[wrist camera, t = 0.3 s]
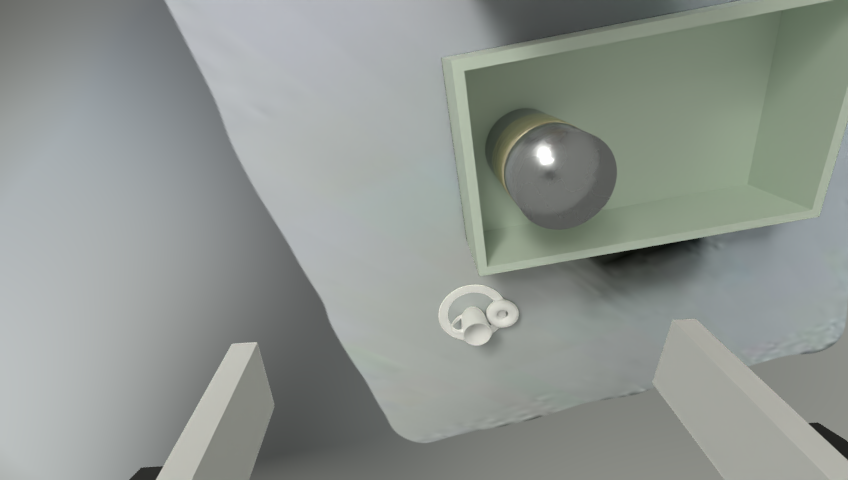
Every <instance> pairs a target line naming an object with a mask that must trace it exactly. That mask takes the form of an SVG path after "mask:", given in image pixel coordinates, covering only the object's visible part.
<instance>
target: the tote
mask: <svg viewBox="0 0 848 480" xmlns="http://www.w3.org/2000/svg"><path fill="white" fill-rule="evenodd" d="M441 61H442V68H443V75H444V82H445V89H446V96H447V103H448V111H449V118H450V125H451V132H452V139H453V146H454V154H455V161H456V168H457V175H458V182H459V189H460V196H461V204H462V211H463V218H464V225H465V232H466V239H467V242H468V245H469V248H470V251H471V254H472V257H473V260H474V263H475V265H476V268H477V271H478V274H479V276H485V275H490V274H496V273H502V272H507V271H513V270H519V269H524V268H530V267H536V266H541V265H547V264H553V263H559V262H564V261H570V260H576V259H581V258H587V257H593V256H598V255H604V254H610V253H615V252H621V251H627V250H632V249H638V248H644V247H650V246H655V245H661V244H667V243H672V242H678V241H684V240H689V239H695V238H701V237H706V236H712V235H718V234H723V233H729V232H735V231H741V230H746V229H752V228H758V227H763V226H769V225H775V224H780V223H786V222H792V221H797V220H803V219H809V218H814V217H819V215H820V212H821V208H822V205H823V202H824V198H825V195H826V192H827V188H828V185H829V182H830V178H831V175H832V172H833V168H834V165H835V162H836V158H837V155H838V152H839V148H840V145H841V141H842V138H843V135H844V131H845V128H846V125H847V121H848V0H740V1H734V2H729V3H724V4H719V5H714V6H708V7H703V8H698V9H693V10H688V11H682V12H677V13H672V14H667V15H662V16H656V17H651V18H646V19H641V20H636V21H630V22H625V23H620V24H615V25H610V26H604V27H599V28H594V29H589V30H584V31H579V32H573V33H568V34H563V35H558V36H553V37H547V38H542V39H537V40H532V41H527V42H521V43H516V44H511V45H506V46H501V47H495V48H490V49H485V50H480V51H475V52H469V53H464V54H459V55H454V56H449V57H443V58H441ZM522 108H531V109H536V110H539V111H541V112H544V113H546V114H548V115H551V116H554V117H556V118H558V119H561V120H563V121H565V122H567V123H570V124H572V125H574V126H576V127H578V128H579V129H581V130H583V131H585V132H588V133H590V134H592V135H594V136H596V137H598V138H599V139H601V140H602V141H604V142H605V143H606V144H607V145H608V147H609V148H610V149H611V151H612V153H613V155H614V158H615V161H616V166H617V178H616V184H615V187H614V190H613V193H612V195H611V197H610V199H609V200H608V202H607V203H606V205H605V206H604V207H603V208H602V209H601V210H600V211H599V212H598V213H597V214H596V215H595V216H594V217H592V218H591V219H590V220H588V221H586V222H585V223H583V224H581V225H578V226H575V227H572V228H568V229H561V230H554V229H547V228H543V227H541V226H538V225H536V224H535V223H533V222H532V221H530V220H529V219H528V218H527V217H526V216H525V215H524V214H523V212H522V211H521V209H520V208H519V207H518V205H517V204H516V203H515V202H514V201H513V199H512V198H511V197H510V196H509V194H508V193H507V192H506V190H505V189H504V188H503V186H502V185H501V183H500V182H499V181H498V179H497V177H496V176H495V174H494V173H493V172H492V170H491V169H490V167H489V165H488V163H487V160H486V156H485V144H486V140H487V137H488V134H489V132H490V130H491V128H492V127H493V125H494V124H495V123H496V122H497V121H498V120H499V119H500V118H501V117H502V116H504V115H505V114H507V113H509V112H511V111H514V110H517V109H522Z"/></svg>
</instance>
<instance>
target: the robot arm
mask: <svg viewBox="0 0 848 480" xmlns="http://www.w3.org/2000/svg"><path fill="white" fill-rule="evenodd" d="M652 383H653V385H654V386H655V387H656V389H657V390H658V391H659V393H660V394H661V395H662V397H663V398H664V399H665V401H666V402H667V403H668V405H669V406H670V407H671V409H672V410H673V412H674V413H675V414H676V416H677V417H678V418H679V420H680V421H681V422H682V424H683V425H684V426H685V428H686V429H687V430H688V432H689V433H690V434H691V436H692V437H693V438H694V440H695V441H696V443H697V444H698V445H699V446H700V448H701V449H702V450H703V452H704V453H705V455H706V456H707V457H708V459H709V460H710V461H711V463H712V464H713V465H714V467H715V468H716V469H717V471H718V472H719V473H720V475H721V476H722V477H723V479H724V480H848V442H847V441H846V440H845V439H843V438H841V437H840V436H838V435H836V434H835V433H833V432H832V431H830V430H829V429H827V428H826V427H824V426H822V425H821V424H819V423H807V422H806V421H805V420H804V419H803V418H802V417H801V416H800V415H798V414H797V413H796V412H795V411H794V410H793V409H792V408H791V407H790V406H789V405H788V404H787V403H786V402H784V401H783V400H782V399H781V398H780V397H779V396H778V395H777V394H776V393H775V392H774V391H773V390H772V389H771V388H769V387H768V386H767V385H766V384H765V383H764V382H763V381H762V380H761V379H760V378H759V377H758V376H757V375H756V374H755V373H753V372H752V371H751V370H750V369H749V368H748V367H747V366H746V365H745V364H744V363H743V362H742V361H741V360H739V359H738V358H737V357H736V356H735V355H734V354H733V353H732V352H731V351H730V350H729V349H728V348H727V347H726V346H724V345H723V344H722V343H721V342H720V341H719V340H718V339H717V338H716V337H715V336H714V335H713V334H712V333H710V332H709V331H708V330H707V329H706V328H705V327H704V326H703V325H702V324H701V323H700V322H699V321H698V320H697V319H681V320H672V323H671V326H670V329H669V332H668V335H667V338H666V341H665V345H664V348H663V351H662V354H661V357H660V360H659V363H658V366H657V369H656V373H655V376H654V379H653V382H652ZM274 406H275V405H274V402H273V398H272V394H271V391H270V387H269V383H268V380H267V376H266V372H265V368H264V365H263V361H262V357H261V354H260V350H259V346H258V343H256V342H255V343H236V344H232V345H231V347H230V348H229V350H228V352H227V354H226V356H225V357H224V359H223V361H222V363H221V365H220V366H219V368H218V370H217V372H216V373H215V375H214V377H213V379H212V381H211V382H210V384H209V386H208V388H207V390H206V391H205V393H204V395H203V397H202V398H201V400H200V402H199V404H198V406H197V407H196V409H195V411H194V413H193V414H192V416H191V418H190V420H189V422H188V424H187V425H186V427H185V429H184V431H183V433H182V434H181V436H180V438H179V440H178V441H177V443H176V445H175V447H174V449H173V450H172V452H171V454H170V455H169V457H168V459H167V461H166V463H165V464H164V466H163V467H146V468H141V469H140V470H139V471H138V472H137V473H136V474H135V475H134V476H133V477H132V478H131V479H130V480H249V478H250V475H251V472H252V469H253V466H254V464H255V460H256V458H257V455H258V452H259V449H260V446H261V443H262V440H263V438H264V435H265V432H266V429H267V426H268V423H269V420H270V417H271V414H272V412H273V409H274Z"/></svg>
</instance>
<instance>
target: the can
mask: <svg viewBox="0 0 848 480" xmlns="http://www.w3.org/2000/svg"><path fill="white" fill-rule="evenodd" d="M485 156H486V160H487V163H488V165H489V167H490V169H491V170H492V172H493V173H494V174H495V176H496V177H497V179H498V181H499V182H500V183H501V185H502V186H503V188H504V189H505V190H506V192H507V193H508V194H509V196H510V197H511V198H512V199H513V201H514V202H515V203H516V204H517V205H518V207H519V208H520V209H521V211H522V212H523V214H524V215H525V216H526V217H527V218H528V219H529V220H530V221H532V222H533V223H535V224H536V225H538V226H541V227H543V228H547V229H554V230H561V229H568V228H572V227H575V226H578V225H581V224H583V223H585V222H586V221H588V220H590V219H591V218H592V217H594V216H595V215H596V214H597V213H598V212H599V211H600V210H601V209H602V208H603V207H604V206H605V205H606V203H607V202H608V200H609V199H610V197H611V195H612V193H613V190H614V187H615V184H616V178H617V166H616V161H615V158H614V155H613V153H612V151H611V149H610V148H609V147H608V145H607V144H606V143H605V142H604V141H602V140H601V139H599V138H598V137H596V136H594V135H592V134H590V133H588V132H585V131H583V130H581V129H579V128H578V127H576V126H574V125H572V124H570V123H567V122H565V121H563V120H561V119H558V118H556V117H554V116H551V115H548V114H546V113H544V112H541V111H539V110H536V109H531V108H522V109H517V110H514V111H511V112H509V113H507V114H505V115H504V116H502V117H501V118H500V119H499V120H498V121H497V122H496V123H495V124H494V125H493V127H492V128H491V130H490V132H489V134H488V137H487V140H486V144H485Z"/></svg>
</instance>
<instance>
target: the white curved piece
mask: <svg viewBox="0 0 848 480" xmlns="http://www.w3.org/2000/svg"><path fill="white" fill-rule="evenodd" d="M474 292H476V293H482V294H485V295H487V296H489V297H490V298H492V299H493V301H494V302H492V303H491V304H490V305H489V306H488V308H487V310H486V316H487V318H486V316H485V315H484V313H483V312H482V311H481V310H480V309H479V308H477V307H468V308H467V309H465V310H464V312H463V314H462V315H459V316H458V317H456V318H455V319H454V321H453V323H452V325H451V324H450V322H449V319H448V310H449V307H450V305H451V304H452V302H453V301H454V300H455V299H457V298H458V297H460V296H462V295H464V294H467V293H474ZM506 311H507V312H508V315H507V316H506ZM518 317H519V311H518V308H517V307H516V305H515V304H514V303H512V302H511V301H508V300H504V299H503V297H502V296H501V295H500V294H499V293H498V292H497V291H496V290H494V289H492V288H490V287H488V286H484V285H467V286H463V287H460V288H458V289H456V290H454V291H452V292H451V293H450V294H449V295H447V296H446V298H445V299H444V300H443V301H442V303H441V305H440V308H439V312H438V318H439V322H440V325H441V327H442V328H443V330H444V331H445V332H446V333H447V334H449V335H450V336H452V337H454V338H456V339H459V340H465V341H466V342H467V343H468V344H470V345H474V346H478V345H482V344H484V343H486V342H487V341H488V340H489V339H490V338H491V335H492V334H493V333H494V332H495V331H497V330H498V329H499V327H500V328H505V327H509V326H511V325H513V324H514V323H515V322H516V321H517V319H518ZM460 319H461V321H462V329H460V330H457V329H455V328H454V325H455V323H456V322H458V321H459V320H460ZM487 319H488V321H489V322H490V323H491V325H489V323H488V321H487Z"/></svg>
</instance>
